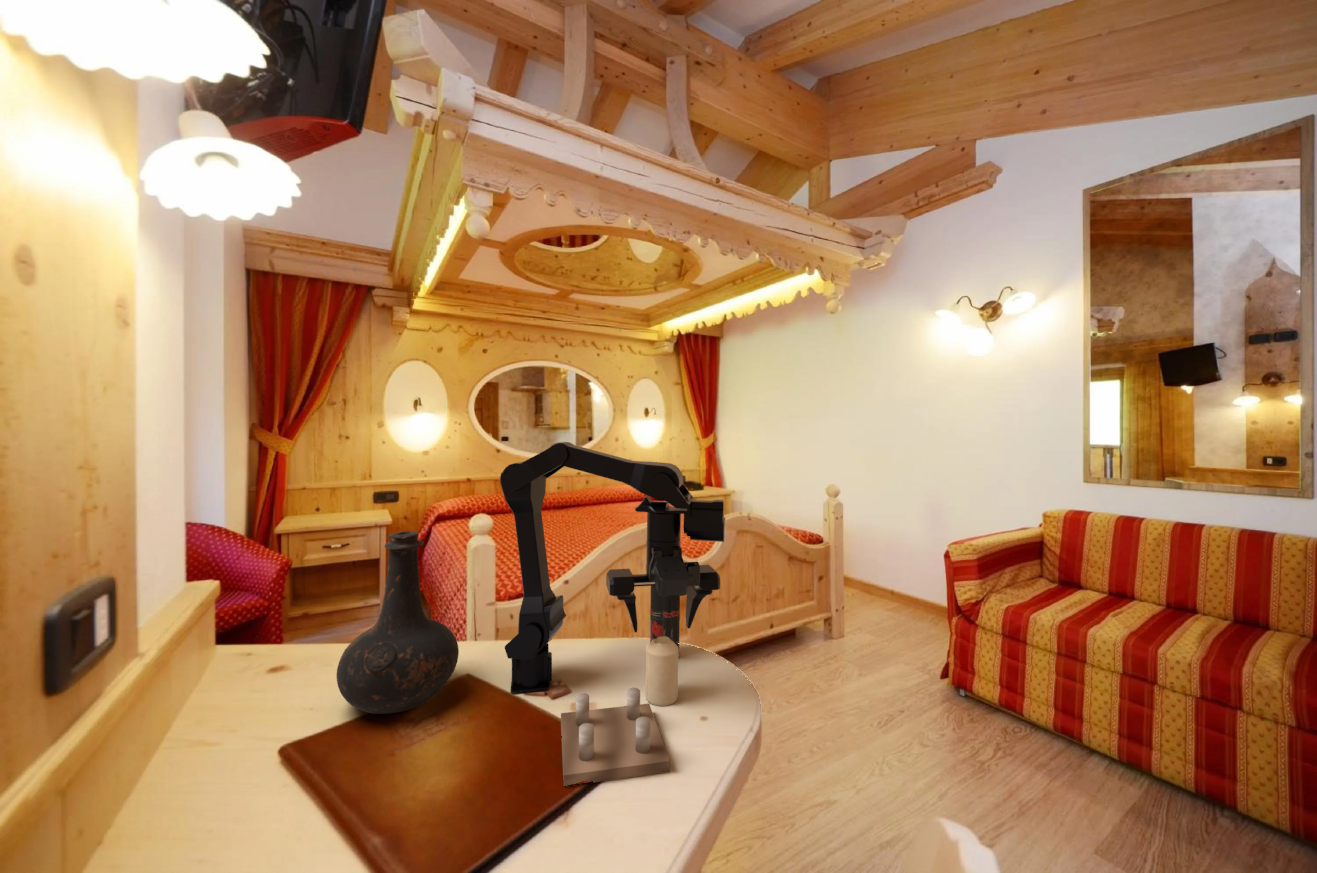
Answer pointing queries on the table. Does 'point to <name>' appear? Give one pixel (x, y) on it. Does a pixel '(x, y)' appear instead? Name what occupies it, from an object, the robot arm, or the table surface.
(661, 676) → the candle
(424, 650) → the glass bottle
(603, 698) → the table surface
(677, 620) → the deodorant
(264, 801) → the table surface
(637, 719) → the peg holder
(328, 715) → the table surface
